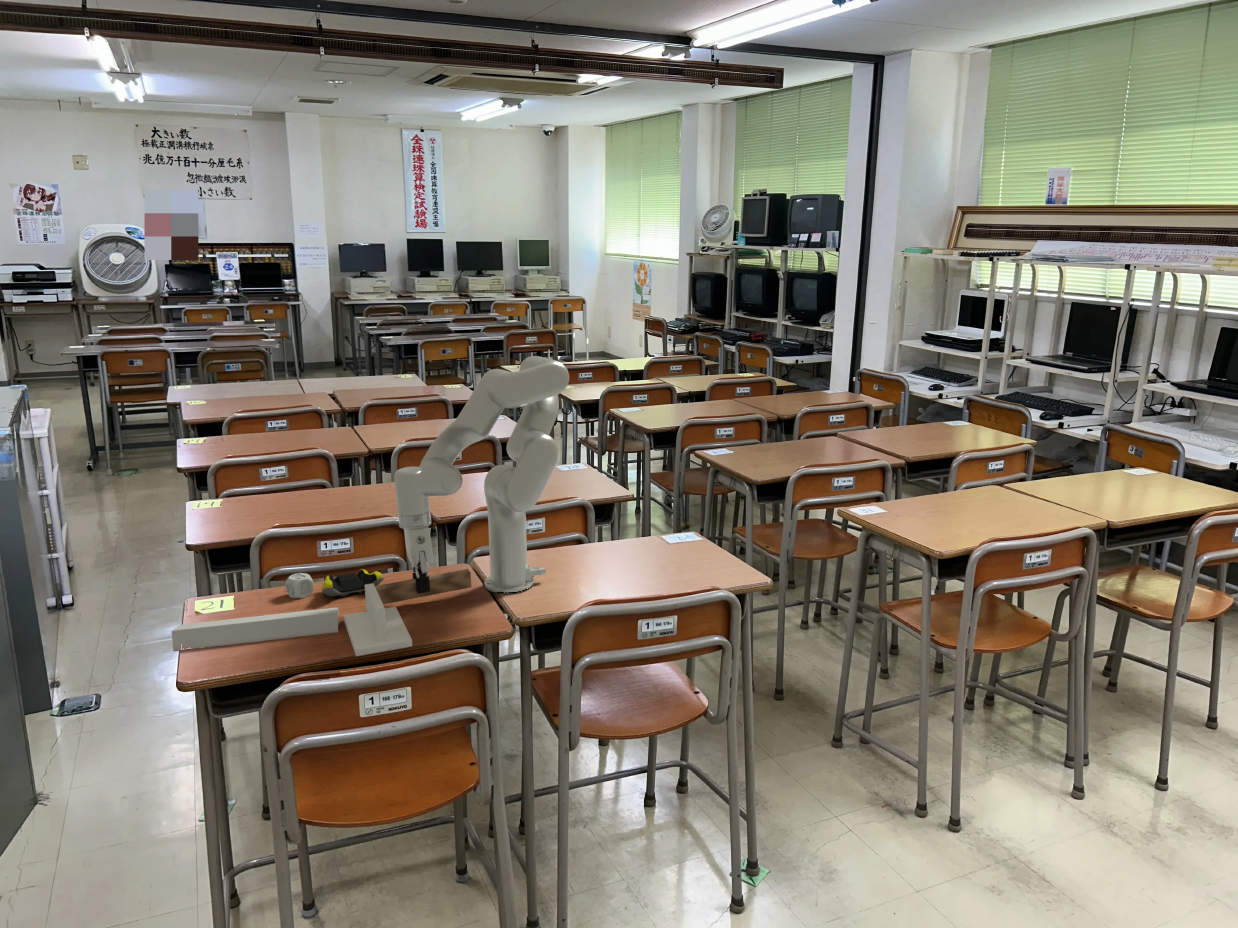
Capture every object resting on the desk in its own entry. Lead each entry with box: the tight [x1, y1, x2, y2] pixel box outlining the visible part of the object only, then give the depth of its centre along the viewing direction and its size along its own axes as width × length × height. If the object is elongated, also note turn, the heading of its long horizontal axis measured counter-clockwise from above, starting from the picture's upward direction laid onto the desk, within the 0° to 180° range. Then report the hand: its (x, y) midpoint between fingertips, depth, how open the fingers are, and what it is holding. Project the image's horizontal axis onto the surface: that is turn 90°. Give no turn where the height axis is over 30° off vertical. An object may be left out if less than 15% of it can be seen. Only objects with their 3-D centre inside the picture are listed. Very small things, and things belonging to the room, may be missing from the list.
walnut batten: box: [375, 568, 472, 605], centre depth 215 cm, size 24×3×4 cm, turn 114°
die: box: [285, 572, 315, 599], centre depth 221 cm, size 5×5×5 cm
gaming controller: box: [321, 568, 384, 597], centre depth 223 cm, size 15×6×10 cm
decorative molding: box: [171, 607, 340, 652], centre depth 200 cm, size 34×5×10 cm
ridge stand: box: [343, 583, 413, 657], centre depth 199 cm, size 12×20×9 cm, turn 24°
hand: (422, 589), depth 216 cm, fingers closed on walnut batten, 2 cm apart
